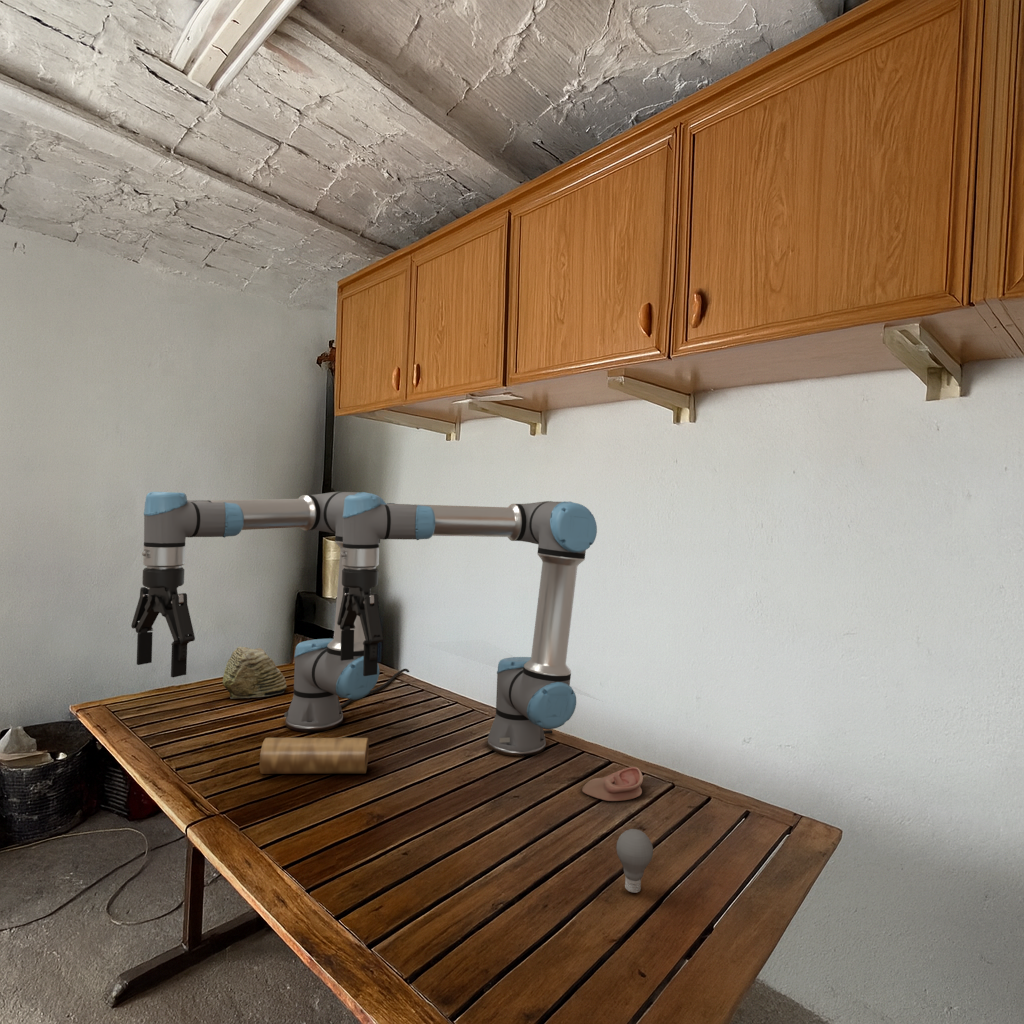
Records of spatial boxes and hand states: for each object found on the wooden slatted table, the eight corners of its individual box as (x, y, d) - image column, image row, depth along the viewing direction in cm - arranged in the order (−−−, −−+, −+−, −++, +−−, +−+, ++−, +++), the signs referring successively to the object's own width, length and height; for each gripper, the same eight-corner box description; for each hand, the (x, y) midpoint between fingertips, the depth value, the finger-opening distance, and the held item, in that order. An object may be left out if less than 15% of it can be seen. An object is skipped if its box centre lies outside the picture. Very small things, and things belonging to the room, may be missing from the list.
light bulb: (610, 879, 108) (613, 822, 108) (644, 879, 109) (647, 822, 109) (619, 902, 102) (622, 840, 102) (655, 901, 103) (658, 840, 103)
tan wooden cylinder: (258, 779, 140) (260, 745, 140) (268, 765, 148) (269, 732, 148) (364, 779, 143) (365, 745, 143) (368, 765, 150) (369, 732, 150)
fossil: (218, 695, 195) (220, 647, 195) (278, 685, 208) (279, 640, 207) (228, 703, 189) (230, 653, 188) (289, 692, 201) (290, 645, 201)
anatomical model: (581, 779, 138) (585, 758, 149) (580, 797, 138) (585, 775, 149) (643, 787, 135) (643, 766, 147) (642, 806, 136) (642, 783, 147)
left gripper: (115, 562, 134) (112, 662, 134) (178, 574, 120) (175, 685, 120) (151, 560, 140) (148, 655, 141) (215, 571, 126) (212, 677, 127)
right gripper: (324, 562, 142) (322, 655, 143) (365, 575, 122) (362, 684, 122) (356, 560, 147) (354, 651, 147) (401, 573, 126) (398, 679, 127)
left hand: (160, 669), depth 131 cm, fingers open, 13 cm apart
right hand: (358, 667), depth 135 cm, fingers open, 13 cm apart
